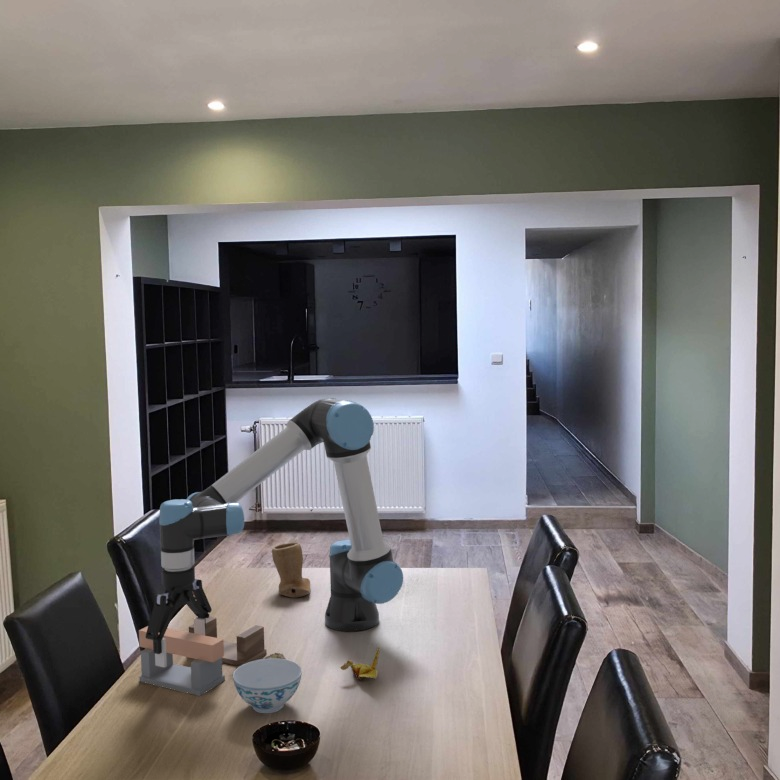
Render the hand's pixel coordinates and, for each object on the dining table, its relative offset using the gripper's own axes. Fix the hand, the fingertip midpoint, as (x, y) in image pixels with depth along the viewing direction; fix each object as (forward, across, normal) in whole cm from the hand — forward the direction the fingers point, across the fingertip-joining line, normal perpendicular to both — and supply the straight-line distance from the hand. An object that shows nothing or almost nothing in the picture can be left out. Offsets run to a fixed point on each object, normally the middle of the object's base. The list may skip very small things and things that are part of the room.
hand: (181, 655), depth 194 cm
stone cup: (+7, -65, -12) cm, 66 cm away
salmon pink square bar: (-1, 0, 0) cm, 1 cm away
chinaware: (+7, +2, +26) cm, 27 cm away
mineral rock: (+7, -14, +15) cm, 22 cm away
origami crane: (+7, -19, +39) cm, 44 cm away
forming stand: (+6, 0, 0) cm, 6 cm away
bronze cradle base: (+6, -17, 0) cm, 18 cm away
